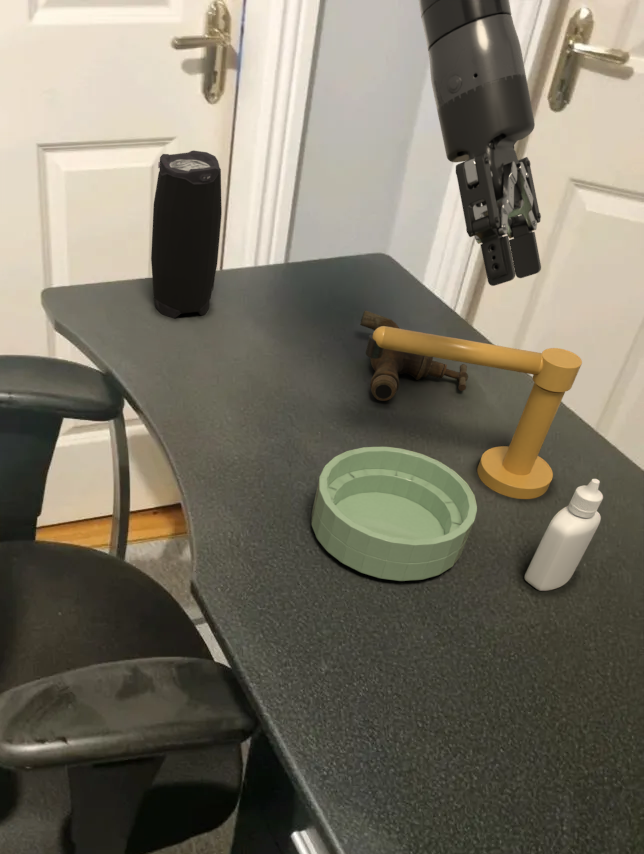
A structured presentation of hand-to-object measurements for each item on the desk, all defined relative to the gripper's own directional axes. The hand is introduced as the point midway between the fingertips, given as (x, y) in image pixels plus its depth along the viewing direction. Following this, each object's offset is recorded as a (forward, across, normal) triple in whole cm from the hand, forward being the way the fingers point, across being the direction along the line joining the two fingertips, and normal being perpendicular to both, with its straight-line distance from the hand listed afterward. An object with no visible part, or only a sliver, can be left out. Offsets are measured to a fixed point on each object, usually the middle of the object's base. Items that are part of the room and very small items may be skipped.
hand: (516, 279), depth 78 cm
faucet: (+8, +24, +22) cm, 33 cm away
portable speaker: (-10, +18, +50) cm, 54 cm away
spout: (+7, +6, +8) cm, 13 cm away
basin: (+21, -6, +16) cm, 27 cm away
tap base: (+21, +12, +8) cm, 25 cm away
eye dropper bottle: (+29, -1, +2) cm, 29 cm away
